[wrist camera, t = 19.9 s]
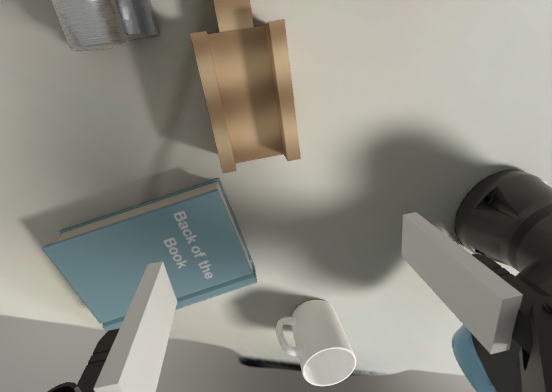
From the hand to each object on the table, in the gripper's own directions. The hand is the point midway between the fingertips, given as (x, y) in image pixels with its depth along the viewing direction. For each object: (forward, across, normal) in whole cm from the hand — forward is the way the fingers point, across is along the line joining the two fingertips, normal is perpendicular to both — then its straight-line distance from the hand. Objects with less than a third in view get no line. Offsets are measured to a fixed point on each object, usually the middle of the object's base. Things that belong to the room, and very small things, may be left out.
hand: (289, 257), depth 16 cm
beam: (+26, 0, +9) cm, 28 cm away
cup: (+27, +3, -32) cm, 41 cm away
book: (+27, -16, -13) cm, 34 cm away
